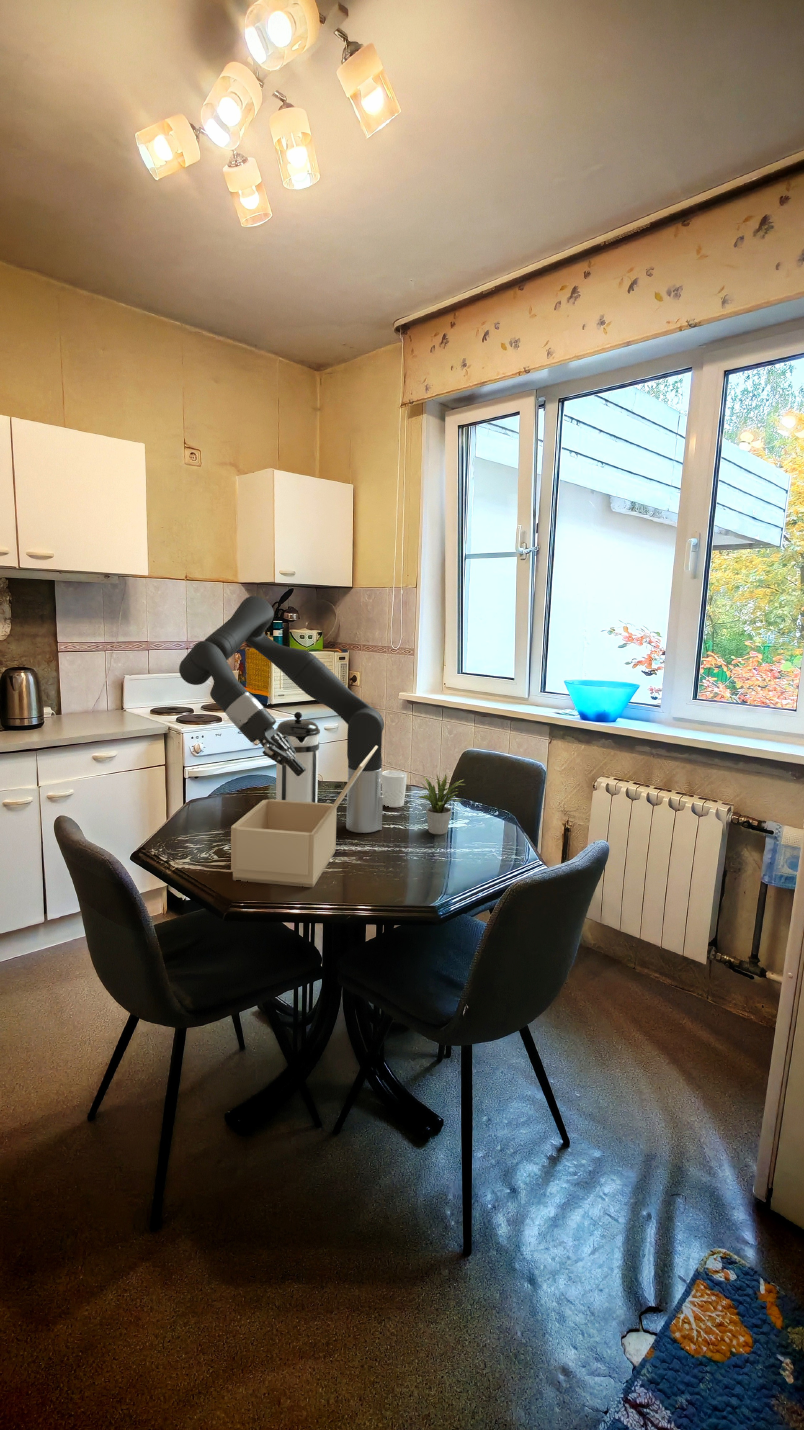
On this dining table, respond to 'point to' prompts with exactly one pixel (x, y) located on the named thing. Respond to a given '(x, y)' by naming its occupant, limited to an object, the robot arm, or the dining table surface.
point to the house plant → (439, 805)
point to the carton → (283, 843)
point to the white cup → (393, 788)
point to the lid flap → (346, 789)
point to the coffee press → (306, 748)
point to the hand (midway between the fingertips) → (302, 773)
